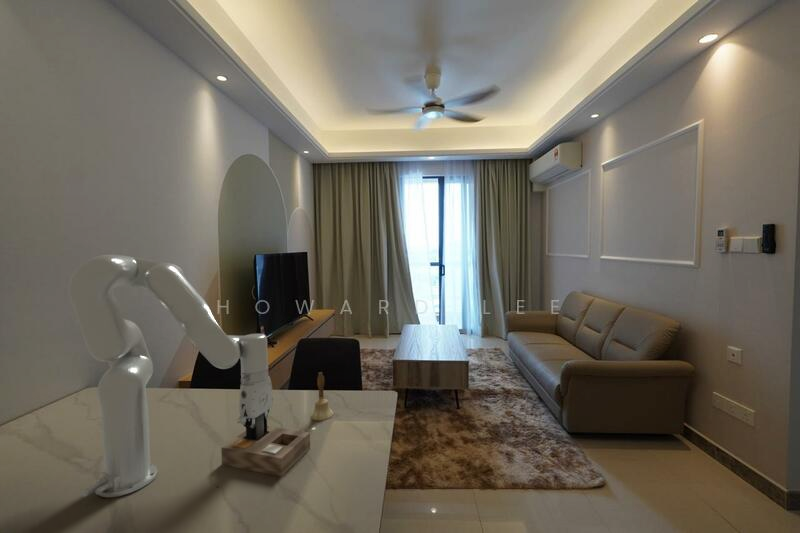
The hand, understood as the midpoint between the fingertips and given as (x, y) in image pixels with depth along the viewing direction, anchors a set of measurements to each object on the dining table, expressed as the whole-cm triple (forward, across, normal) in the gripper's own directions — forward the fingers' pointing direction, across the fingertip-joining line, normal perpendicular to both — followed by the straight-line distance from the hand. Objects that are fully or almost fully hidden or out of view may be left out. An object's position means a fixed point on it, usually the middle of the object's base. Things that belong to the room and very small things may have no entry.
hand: (256, 434), depth 105 cm
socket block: (+5, -2, -5) cm, 7 cm away
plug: (+3, 0, 0) cm, 3 cm away
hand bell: (+5, +26, -7) cm, 28 cm away
